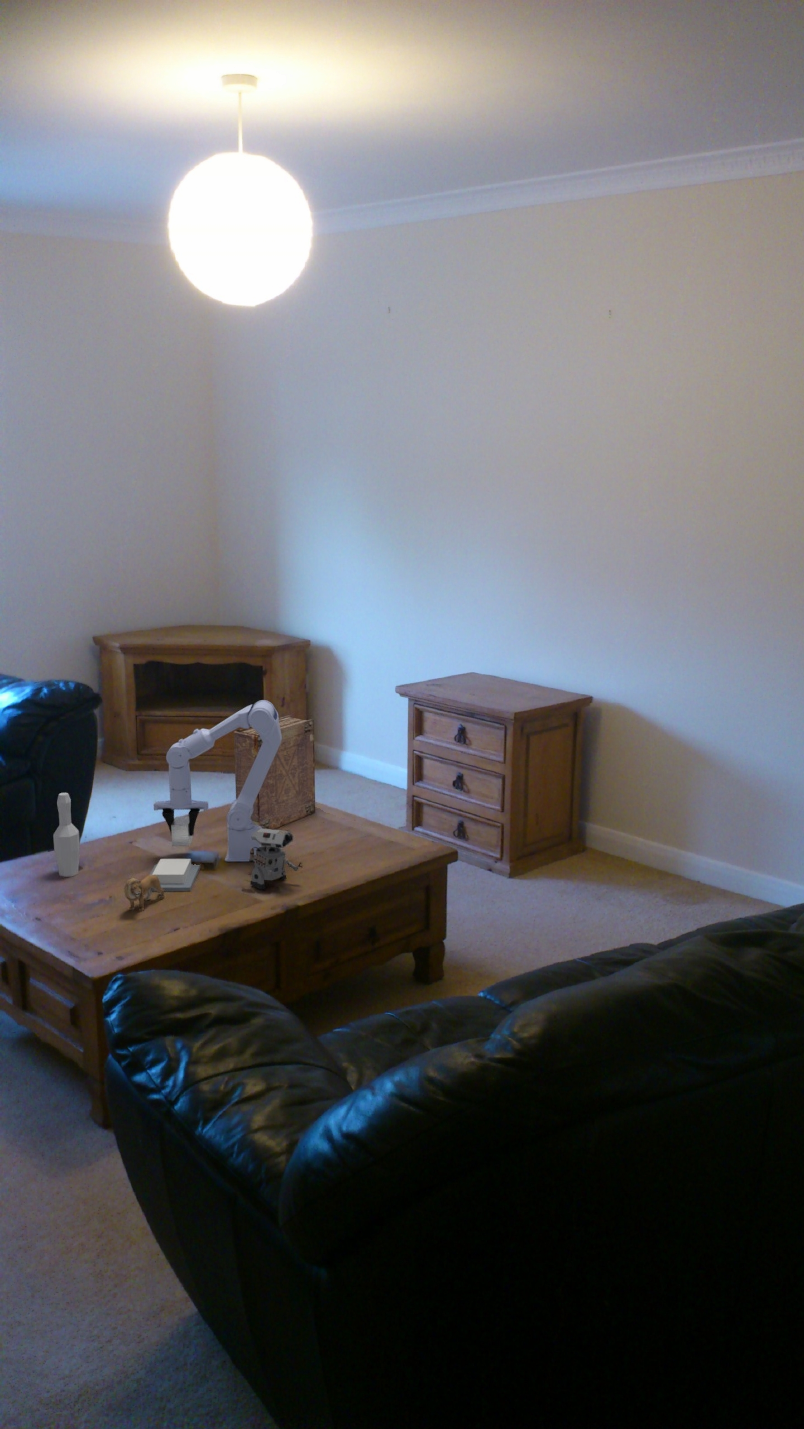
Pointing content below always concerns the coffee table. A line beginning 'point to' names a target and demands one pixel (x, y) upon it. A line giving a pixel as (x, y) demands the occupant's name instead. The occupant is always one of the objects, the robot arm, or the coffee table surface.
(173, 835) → the block
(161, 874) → the display stand
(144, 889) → the lion figurine
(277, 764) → the book
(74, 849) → the faceted bottle
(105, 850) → the coffee table surface
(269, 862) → the figurine
